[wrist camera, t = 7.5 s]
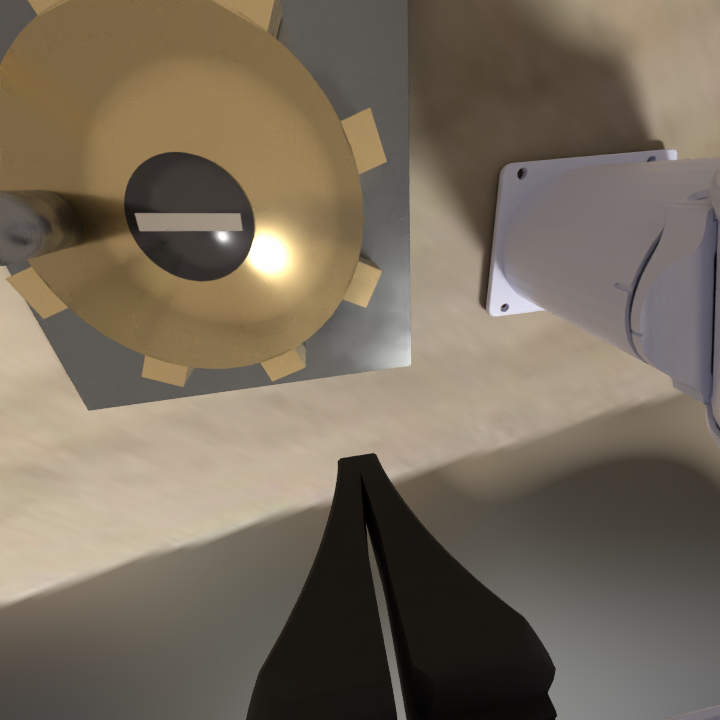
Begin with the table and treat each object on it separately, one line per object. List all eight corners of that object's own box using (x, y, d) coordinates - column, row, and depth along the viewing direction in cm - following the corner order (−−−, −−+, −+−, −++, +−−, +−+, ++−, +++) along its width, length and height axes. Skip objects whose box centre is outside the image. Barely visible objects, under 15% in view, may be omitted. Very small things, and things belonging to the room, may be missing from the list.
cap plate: (396, -70, 13) (406, -99, 11) (404, 354, 21) (410, 365, 20) (-136, -56, 11) (-196, -89, 10) (103, 395, 20) (88, 410, 18)
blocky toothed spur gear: (382, -4, 12) (425, -110, 8) (371, 357, 19) (390, 409, 15) (-90, -45, 10) (-384, -215, 6) (85, 372, 17) (9, 437, 13)
